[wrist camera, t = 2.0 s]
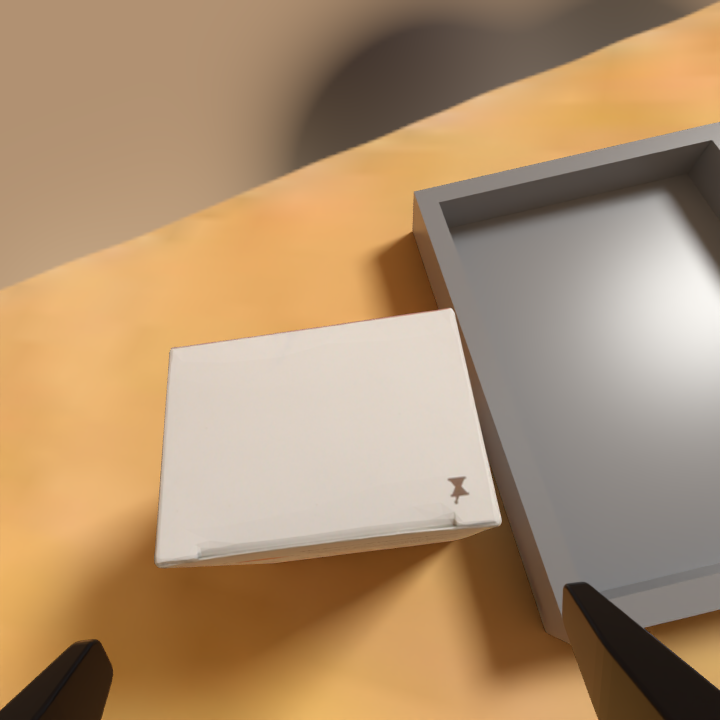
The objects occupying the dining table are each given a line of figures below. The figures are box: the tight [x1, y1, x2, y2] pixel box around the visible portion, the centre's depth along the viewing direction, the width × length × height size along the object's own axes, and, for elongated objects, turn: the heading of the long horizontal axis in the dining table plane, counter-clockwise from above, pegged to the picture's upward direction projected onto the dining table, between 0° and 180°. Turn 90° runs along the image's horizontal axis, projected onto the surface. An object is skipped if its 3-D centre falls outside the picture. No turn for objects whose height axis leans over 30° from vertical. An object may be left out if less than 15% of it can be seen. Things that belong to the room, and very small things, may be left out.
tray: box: [413, 122, 720, 645], centre depth 21 cm, size 20×16×3 cm
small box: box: [154, 308, 502, 568], centre depth 16 cm, size 8×6×10 cm
